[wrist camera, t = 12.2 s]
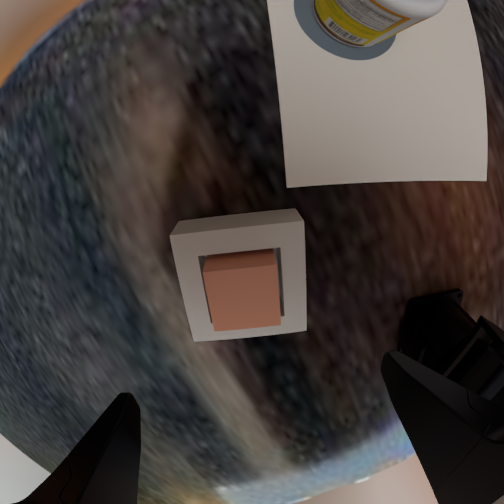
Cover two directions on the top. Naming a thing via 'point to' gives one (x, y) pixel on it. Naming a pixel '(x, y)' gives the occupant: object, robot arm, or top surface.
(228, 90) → the top surface
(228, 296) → the button
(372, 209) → the top surface
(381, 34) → the supplement bottle
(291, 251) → the button housing
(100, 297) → the top surface
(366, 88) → the drawing paper
